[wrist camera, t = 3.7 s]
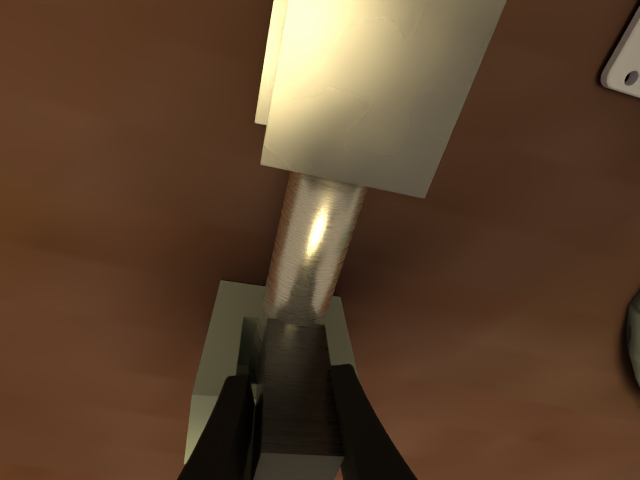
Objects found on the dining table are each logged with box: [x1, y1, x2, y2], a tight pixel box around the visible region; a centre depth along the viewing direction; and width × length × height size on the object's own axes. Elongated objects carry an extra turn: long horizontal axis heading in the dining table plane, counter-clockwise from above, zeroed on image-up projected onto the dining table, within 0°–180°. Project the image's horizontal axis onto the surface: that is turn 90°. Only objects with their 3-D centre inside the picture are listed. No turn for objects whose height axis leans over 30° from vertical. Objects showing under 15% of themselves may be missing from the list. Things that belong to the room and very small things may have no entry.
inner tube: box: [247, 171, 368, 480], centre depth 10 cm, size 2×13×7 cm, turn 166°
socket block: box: [184, 280, 360, 464], centre depth 16 cm, size 6×4×6 cm, turn 76°
